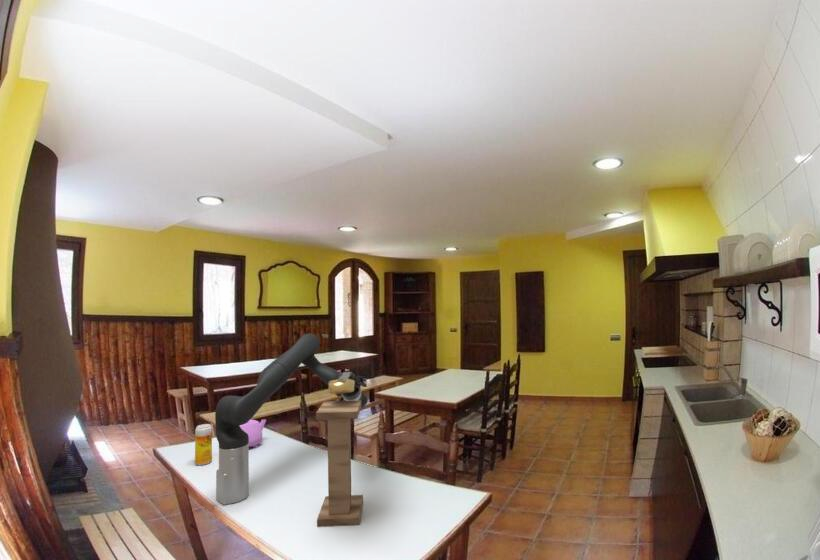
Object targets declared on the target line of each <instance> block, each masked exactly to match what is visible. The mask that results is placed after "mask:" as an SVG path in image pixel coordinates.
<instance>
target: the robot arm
mask: <svg viewBox="0 0 820 560" xmlns="http://www.w3.org/2000/svg"><path fill="white" fill-rule="evenodd" d="M320 342H321V341H320V338H319V337H318V335H316V334H314V333H304V334H303V335H301V336H300V337H299V339H297V341H296V342H295V343H294V344H293V345H292V346H291V347H290V348H289V349H287V350H286V351H285V352H283V353H282V354H280V355H279V356H278V357H276V359H275V360H273V361H272V362H270V363H269V364H268V365H267V366H266V367H264V369H262V371H261V372H260V374H259V376H258V378H257V379H258V380H257V383H256V385H255V387H253V388H252V390H250V391H249V392H248V393H246V394H245V395H243V396H238V395H226V396H223V397H221V398H220V399H219V401H218V403H217V404H216V407H215V413H214V415H215V416H214V417H215V418H214V420H215V436H216V440H217V442H218V469H216V473H215V474H216V477H215V479H216V481H215V485H216V486H215V491H216V492H215V494H216V495H215V499H216V501H218V502H219V503H220V504H222V505H223V506H226V505H229V504H231V505H232V504H236V503H239V502H242V501H244V500H246V498H248V497H249V494H250V493H249V490H250V488H249V486H250V483H249V481H250V479H249V478H250V477H249V475H250V473H249V470H250V467H249V464H250V463H249V457H250V456H249V455H250V453H249V452H250V451H249V450H250V449H249V436H248V434H247V433H246V432H245V431H243V430H242V429H241V427H240V426H239V425H243V424H245V423H247V422H248V421H249V420H250V419H252V418H253V417H255V415H256V414H257V413H258V412H259V410H260V409H261V408H262V406H263V405H264V404H265V403H266V402H267V401H268V400H269V399H270V398H271V397H272V396H273V395H274V394H275V393H276V392H277V391H278V390H279V389H280V388H281V387H283V385H284V384H286V382H287V381H288V380H289V379H290V378H291V377H292V376H293V374H295V372H296V371H297V370H298V369H299V367H300V365H301V364H302V365H304V366H305V367H306V368H307V369H309V371H311V372H312V373H313V374H315V375H316V376H317V377H318V378H319V379H321V380H322V381H323V382H324V383H325V384H326V385H327V386H328V387H329V381H332V380H337V379H339V378H340V376H341V375H342V374H343V372H339V371H338V370H336V369H334V368H332V367H330V366H328V365H326V364H324V363H322V362H321V361H319V360H318V358H317V357H316V356H315V355H316V353H317V352H318V351H319V349H320V346H321V345H320V344H321V343H320ZM349 372H350V379H351V380H354V391H353V392H350V393H344V394H335V395H336V396H337V397H338V398H340V397H342V398H343V399H342V401H356V400H361V409H360V411H361V410H362V409H363V408H364V407H365V406H366V405H367V404H368V402H369V401H368V400H369V399H368V397H367V395H366V393H364V392H363V391H362V388H361V387H363V388H366V387H367V383H368V380H367V379H366V378H365V377H363V376H361V375H357V376H356V375H355V373H353V372H352V371H349Z"/></svg>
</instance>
